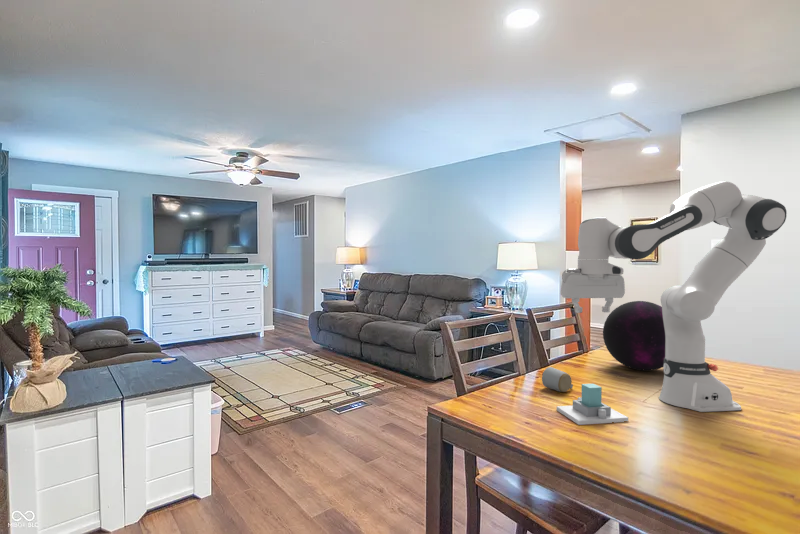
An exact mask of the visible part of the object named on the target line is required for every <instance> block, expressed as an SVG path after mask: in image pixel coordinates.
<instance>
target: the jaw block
mask: <svg viewBox="0 0 800 534" xmlns="http://www.w3.org/2000/svg"><path fill="white" fill-rule="evenodd" d="M602 389H603V388H602V386H600V385H598V384H596V383H581V403H582V404H584V405H585V406H587V407H601V402H602V399H603V398H602V392H603V391H602Z"/></svg>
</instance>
